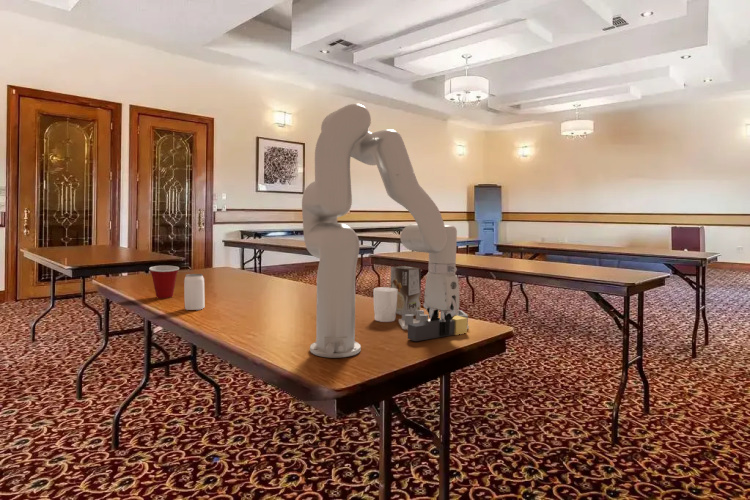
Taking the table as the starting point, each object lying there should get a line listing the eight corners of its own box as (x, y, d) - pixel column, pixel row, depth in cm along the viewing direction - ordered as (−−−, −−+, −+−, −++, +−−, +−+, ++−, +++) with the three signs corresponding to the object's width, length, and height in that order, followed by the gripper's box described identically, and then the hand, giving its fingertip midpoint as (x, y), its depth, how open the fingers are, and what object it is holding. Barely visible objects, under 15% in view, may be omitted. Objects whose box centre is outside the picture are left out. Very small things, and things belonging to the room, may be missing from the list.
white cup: (393, 323, 142) (393, 292, 141) (369, 321, 144) (369, 290, 143) (399, 318, 149) (400, 288, 148) (377, 316, 152) (377, 286, 151)
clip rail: (468, 329, 136) (468, 315, 136) (402, 329, 135) (403, 316, 134) (460, 321, 145) (460, 309, 145) (398, 322, 144) (398, 309, 143)
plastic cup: (153, 301, 170) (153, 269, 170) (146, 296, 179) (145, 266, 178) (183, 297, 177) (183, 267, 176) (175, 293, 186) (174, 264, 185)
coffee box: (421, 314, 155) (422, 268, 154) (408, 317, 151) (409, 269, 149) (402, 310, 162) (403, 265, 161) (389, 312, 158) (390, 266, 156)
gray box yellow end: (416, 341, 120) (417, 325, 120) (406, 338, 124) (406, 322, 123) (466, 333, 131) (467, 318, 131) (455, 329, 135) (456, 315, 134)
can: (185, 307, 160) (185, 273, 159) (205, 306, 162) (204, 273, 161) (183, 311, 154) (183, 276, 153) (204, 310, 156) (203, 275, 155)
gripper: (473, 272, 122) (470, 338, 123) (432, 265, 135) (429, 326, 137) (453, 273, 118) (450, 342, 119) (412, 266, 131) (410, 329, 132)
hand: (439, 333), depth 128 cm, fingers closed on gray box yellow end, 3 cm apart
